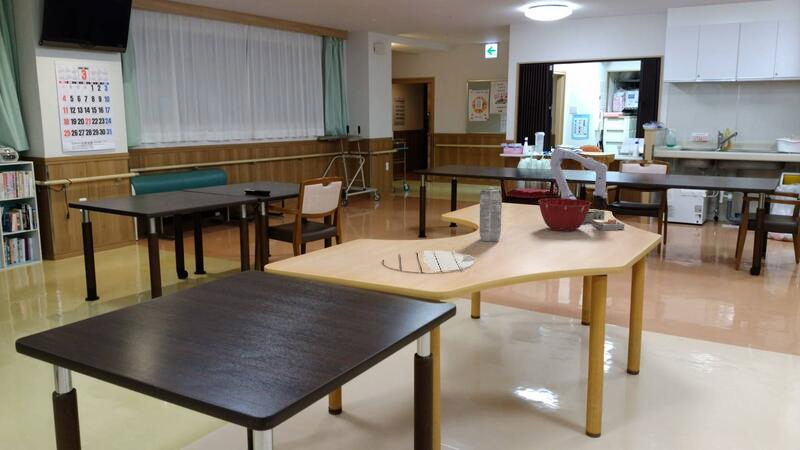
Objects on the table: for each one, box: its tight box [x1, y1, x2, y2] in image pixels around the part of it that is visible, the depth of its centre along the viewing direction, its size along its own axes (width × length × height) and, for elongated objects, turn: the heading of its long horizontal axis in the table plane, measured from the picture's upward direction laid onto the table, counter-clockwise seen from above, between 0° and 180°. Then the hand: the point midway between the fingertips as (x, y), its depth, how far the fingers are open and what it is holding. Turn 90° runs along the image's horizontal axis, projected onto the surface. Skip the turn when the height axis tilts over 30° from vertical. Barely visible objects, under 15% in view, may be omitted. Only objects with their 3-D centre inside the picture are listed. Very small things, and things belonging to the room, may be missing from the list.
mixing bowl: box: [538, 198, 592, 232], centre depth 344 cm, size 28×28×16 cm
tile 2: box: [607, 218, 617, 225], centre depth 349 cm, size 4×4×2 cm
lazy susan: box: [422, 250, 476, 272], centre depth 269 cm, size 40×39×3 cm
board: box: [591, 219, 608, 228], centre depth 354 cm, size 11×8×3 cm
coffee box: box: [582, 208, 606, 224], centre depth 370 cm, size 9×6×16 cm
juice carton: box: [479, 186, 503, 243], centre depth 313 cm, size 9×10×27 cm
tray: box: [595, 221, 625, 231], centre depth 346 cm, size 13×8×3 cm, turn 96°
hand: (599, 209), depth 354 cm, fingers closed
